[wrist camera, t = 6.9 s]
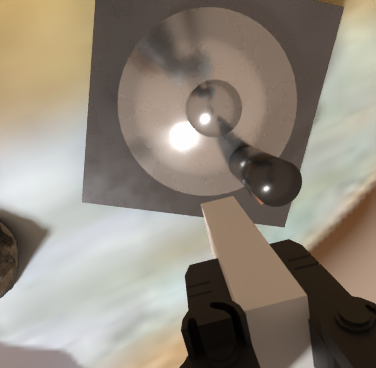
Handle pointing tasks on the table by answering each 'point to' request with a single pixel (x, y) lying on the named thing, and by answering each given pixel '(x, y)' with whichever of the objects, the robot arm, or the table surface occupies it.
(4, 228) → the fossil
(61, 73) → the table surface
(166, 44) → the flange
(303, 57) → the clock base
